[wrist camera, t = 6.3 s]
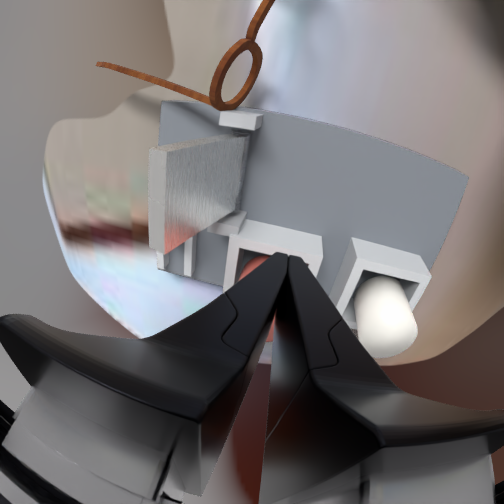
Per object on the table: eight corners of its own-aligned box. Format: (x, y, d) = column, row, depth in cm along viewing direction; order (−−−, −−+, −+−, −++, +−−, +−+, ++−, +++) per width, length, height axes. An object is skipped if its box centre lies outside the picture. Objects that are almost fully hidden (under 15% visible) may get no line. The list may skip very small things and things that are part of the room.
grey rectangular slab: (254, 132, 16) (168, 147, 10) (242, 209, 19) (166, 259, 13) (237, 129, 16) (147, 143, 10) (226, 203, 19) (148, 250, 13)
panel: (456, 169, 16) (488, 190, 12) (394, 309, 24) (405, 346, 20) (174, 100, 18) (140, 103, 14) (167, 257, 25) (143, 288, 21)
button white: (411, 281, 17) (428, 321, 14) (389, 320, 19) (399, 360, 16) (365, 270, 17) (375, 311, 14) (345, 312, 19) (349, 354, 16)
